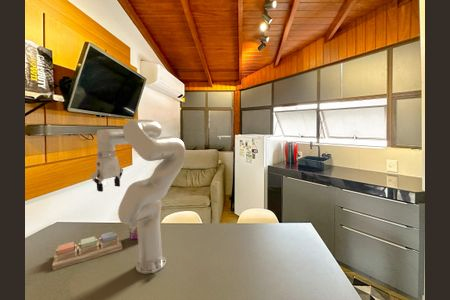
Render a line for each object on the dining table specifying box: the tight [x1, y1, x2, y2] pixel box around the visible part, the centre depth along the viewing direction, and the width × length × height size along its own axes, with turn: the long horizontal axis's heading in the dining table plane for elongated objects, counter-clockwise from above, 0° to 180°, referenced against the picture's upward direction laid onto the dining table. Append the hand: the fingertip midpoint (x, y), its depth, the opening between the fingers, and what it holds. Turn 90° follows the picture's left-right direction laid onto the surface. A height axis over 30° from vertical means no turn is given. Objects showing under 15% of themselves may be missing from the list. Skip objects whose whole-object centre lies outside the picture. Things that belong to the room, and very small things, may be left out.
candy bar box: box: [128, 221, 139, 240], centre depth 123 cm, size 11×5×16 cm, turn 84°
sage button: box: [80, 235, 96, 249], centre depth 110 cm, size 6×6×3 cm
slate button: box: [101, 230, 116, 243], centre depth 115 cm, size 6×6×3 cm
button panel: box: [52, 233, 123, 271], centre depth 110 cm, size 14×28×4 cm, turn 124°
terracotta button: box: [57, 241, 75, 255], centre depth 105 cm, size 6×6×3 cm
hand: (109, 188), depth 111 cm, fingers open, 9 cm apart
